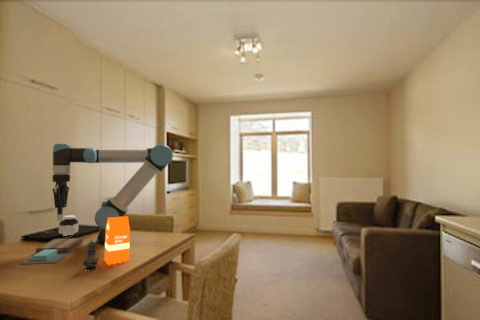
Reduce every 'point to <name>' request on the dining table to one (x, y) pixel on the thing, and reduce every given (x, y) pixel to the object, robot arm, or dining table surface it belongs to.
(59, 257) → the mat
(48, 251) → the card
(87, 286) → the dining table surface
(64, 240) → the brown flat block
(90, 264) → the black chess piece
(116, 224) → the orange juice
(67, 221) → the spread jar
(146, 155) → the robot arm
